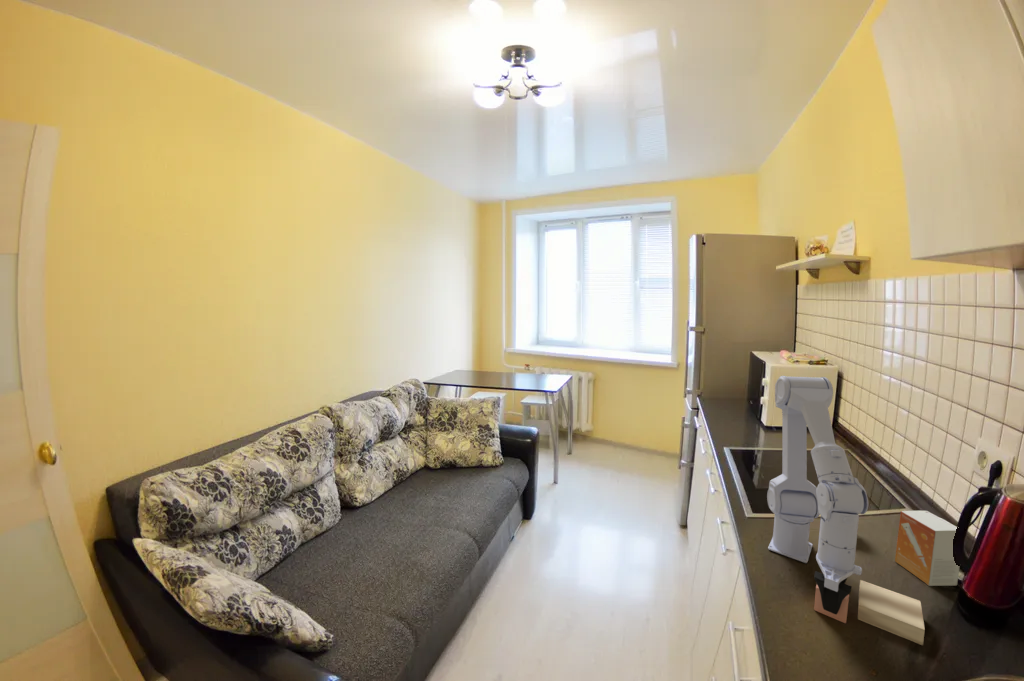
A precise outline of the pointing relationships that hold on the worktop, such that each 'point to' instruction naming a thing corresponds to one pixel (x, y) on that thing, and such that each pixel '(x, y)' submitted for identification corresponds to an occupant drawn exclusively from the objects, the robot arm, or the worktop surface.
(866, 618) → the birch base block
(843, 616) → the terracotta cube
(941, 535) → the small box
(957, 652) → the worktop surface
